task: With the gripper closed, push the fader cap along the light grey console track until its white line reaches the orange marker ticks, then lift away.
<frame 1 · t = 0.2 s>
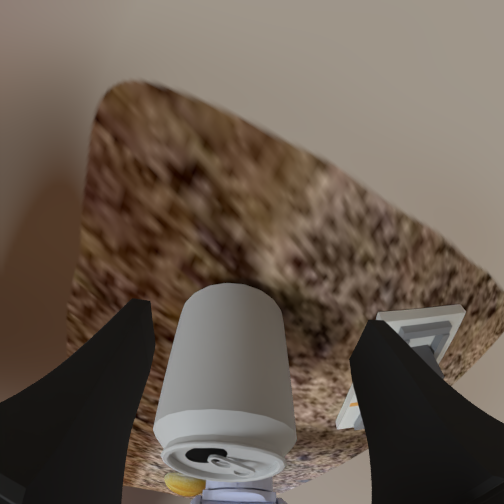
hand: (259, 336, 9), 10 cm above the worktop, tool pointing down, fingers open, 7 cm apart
console: (393, 374, 27), on the worktop
fader: (417, 373, 22), point 3 cm above the worktop, slide at 4.0 cm
can: (232, 314, 22), on the worktop
bread roll: (187, 476, 44), on the worktop
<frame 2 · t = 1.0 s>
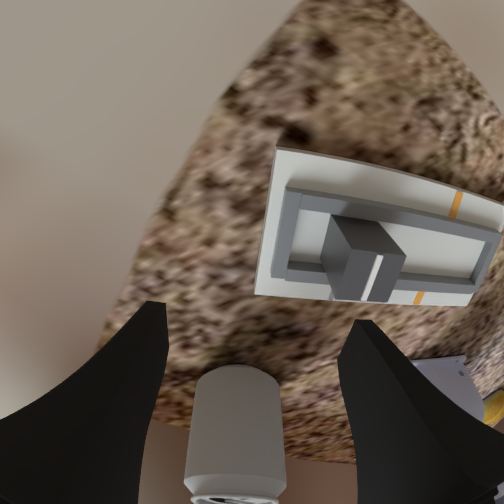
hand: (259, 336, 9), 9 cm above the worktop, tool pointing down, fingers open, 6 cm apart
console: (397, 238, 18), on the worktop
fader: (359, 257, 15), point 3 cm above the worktop, slide at 4.0 cm
can: (238, 382, 26), on the worktop
bread roll: (488, 401, 34), on the worktop
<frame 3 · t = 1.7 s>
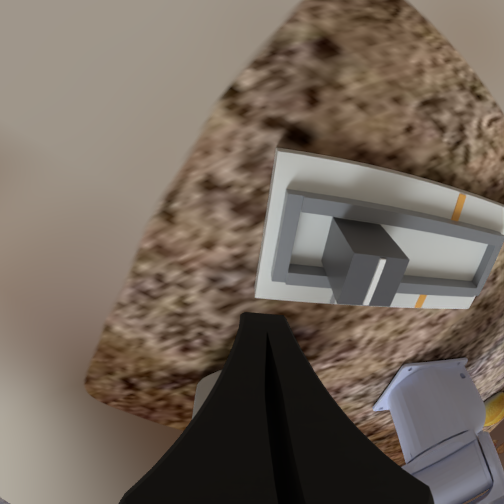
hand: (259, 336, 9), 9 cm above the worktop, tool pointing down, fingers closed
console: (399, 241, 18), on the worktop
fader: (361, 260, 15), point 3 cm above the worktop, slide at 4.0 cm
can: (238, 385, 25), on the worktop
bread roll: (488, 403, 34), on the worktop
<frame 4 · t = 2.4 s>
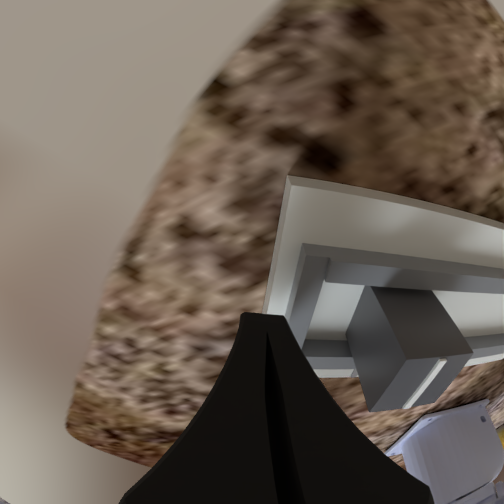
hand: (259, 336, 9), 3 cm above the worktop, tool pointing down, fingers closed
console: (442, 296, 13), on the worktop
fader: (404, 344, 10), point 3 cm above the worktop, slide at 4.0 cm
bread roll: (500, 428, 29), on the worktop
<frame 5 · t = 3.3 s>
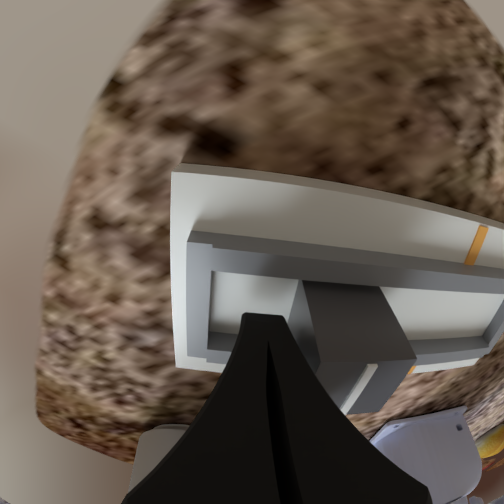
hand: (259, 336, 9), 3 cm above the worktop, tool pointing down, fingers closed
console: (384, 293, 12), on the worktop
fader: (341, 345, 9), point 3 cm above the worktop, slide at 3.0 cm, touching gripper
can: (188, 438, 20), on the worktop
bread roll: (487, 434, 28), on the worktop
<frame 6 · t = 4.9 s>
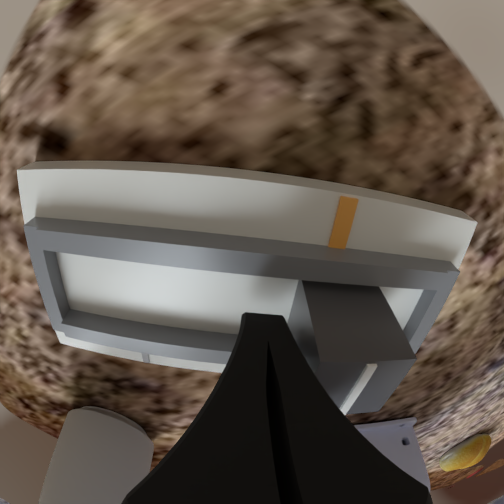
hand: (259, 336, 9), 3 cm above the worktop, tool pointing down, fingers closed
console: (240, 281, 12), on the worktop
fader: (341, 345, 9), point 3 cm above the worktop, slide at -3.5 cm, touching gripper
can: (112, 423, 19), on the worktop
bread roll: (463, 444, 28), on the worktop
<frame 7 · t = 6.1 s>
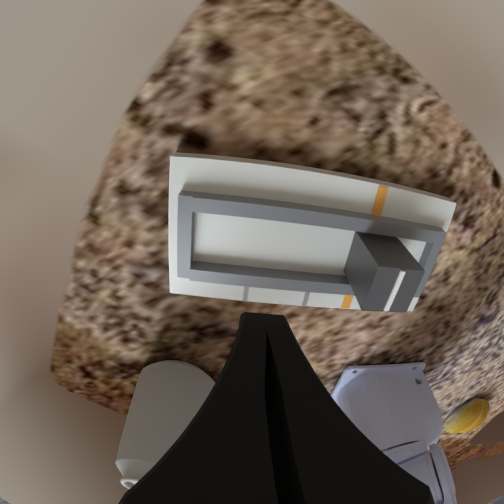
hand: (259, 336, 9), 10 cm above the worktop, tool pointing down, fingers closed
console: (315, 238, 19), on the worktop
fader: (381, 271, 16), point 3 cm above the worktop, slide at -3.5 cm
can: (179, 377, 26), on the worktop
bread roll: (464, 409, 35), on the worktop
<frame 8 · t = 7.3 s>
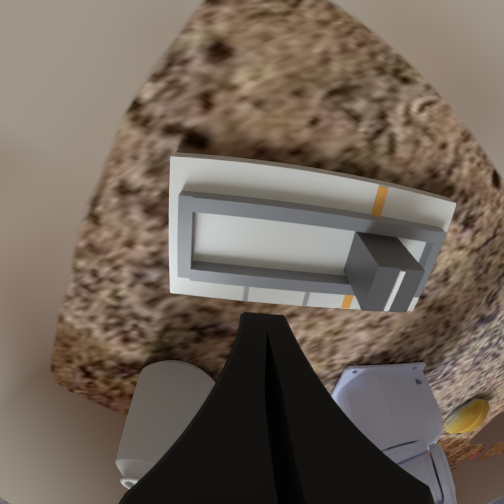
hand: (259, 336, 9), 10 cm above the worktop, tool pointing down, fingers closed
console: (315, 238, 19), on the worktop
fader: (381, 271, 16), point 3 cm above the worktop, slide at -3.5 cm
can: (179, 377, 26), on the worktop
bread roll: (464, 409, 35), on the worktop
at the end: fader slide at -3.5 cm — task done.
